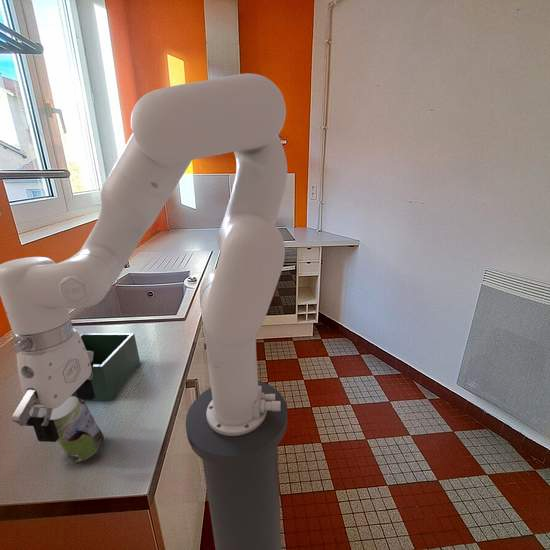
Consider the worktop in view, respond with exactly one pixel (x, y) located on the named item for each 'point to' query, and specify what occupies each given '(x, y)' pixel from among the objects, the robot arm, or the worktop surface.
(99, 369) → the waste bin
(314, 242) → the worktop surface
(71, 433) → the beverage can
